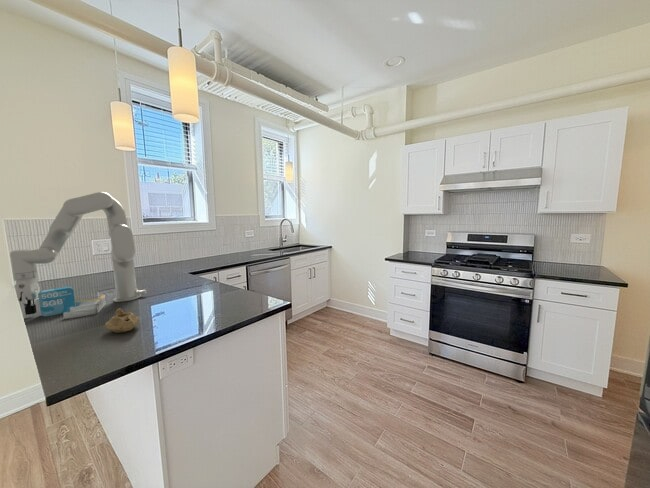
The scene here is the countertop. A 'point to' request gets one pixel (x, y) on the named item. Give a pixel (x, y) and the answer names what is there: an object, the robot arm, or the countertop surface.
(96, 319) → the countertop surface
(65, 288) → the data package
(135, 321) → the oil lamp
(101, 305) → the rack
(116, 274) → the robot arm
